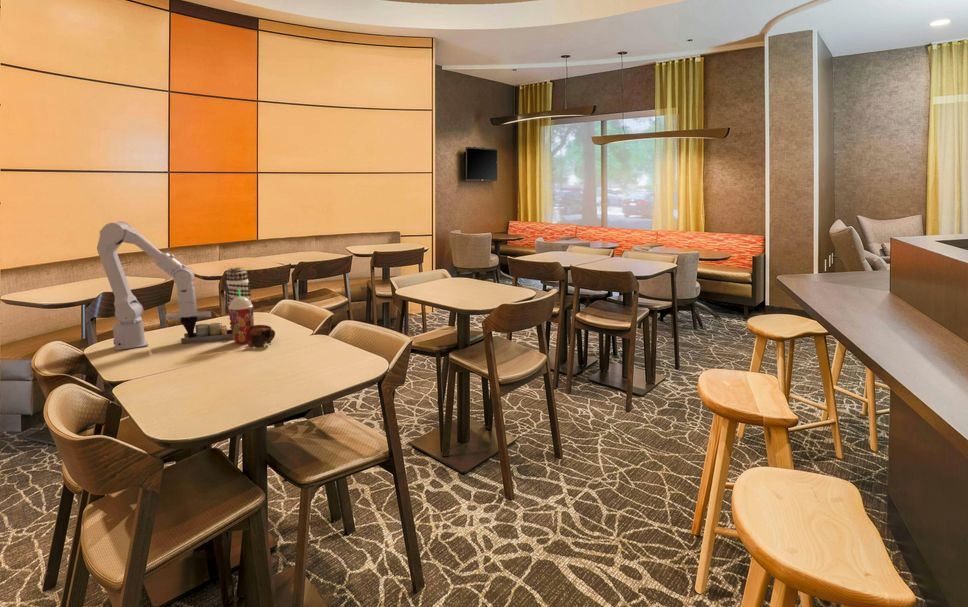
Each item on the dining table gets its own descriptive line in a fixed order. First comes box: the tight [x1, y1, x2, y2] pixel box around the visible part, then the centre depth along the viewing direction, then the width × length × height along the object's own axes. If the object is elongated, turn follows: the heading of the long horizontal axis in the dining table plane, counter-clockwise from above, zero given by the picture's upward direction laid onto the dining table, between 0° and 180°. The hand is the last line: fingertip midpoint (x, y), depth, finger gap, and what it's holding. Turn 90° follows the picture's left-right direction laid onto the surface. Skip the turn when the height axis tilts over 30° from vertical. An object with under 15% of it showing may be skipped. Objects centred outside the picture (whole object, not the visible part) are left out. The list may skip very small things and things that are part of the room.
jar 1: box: [195, 323, 210, 337], centre depth 199 cm, size 4×4×5 cm
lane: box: [180, 328, 234, 345], centre depth 200 cm, size 18×8×4 cm, turn 111°
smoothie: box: [227, 289, 255, 345], centre depth 194 cm, size 8×8×20 cm
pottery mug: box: [247, 324, 276, 348], centre depth 195 cm, size 12×10×8 cm
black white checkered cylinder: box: [225, 267, 252, 330], centre depth 213 cm, size 9×9×25 cm
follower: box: [221, 325, 228, 335], centre depth 202 cm, size 1×6×4 cm, turn 21°
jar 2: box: [208, 322, 223, 336], centre depth 201 cm, size 4×4×5 cm
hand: (191, 337), depth 198 cm, fingers closed
